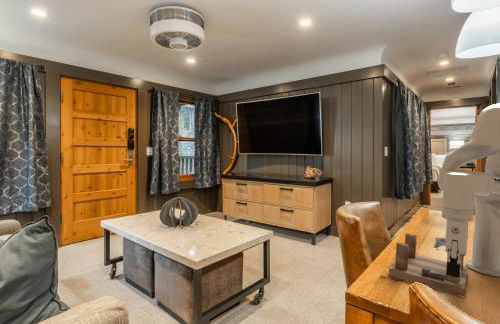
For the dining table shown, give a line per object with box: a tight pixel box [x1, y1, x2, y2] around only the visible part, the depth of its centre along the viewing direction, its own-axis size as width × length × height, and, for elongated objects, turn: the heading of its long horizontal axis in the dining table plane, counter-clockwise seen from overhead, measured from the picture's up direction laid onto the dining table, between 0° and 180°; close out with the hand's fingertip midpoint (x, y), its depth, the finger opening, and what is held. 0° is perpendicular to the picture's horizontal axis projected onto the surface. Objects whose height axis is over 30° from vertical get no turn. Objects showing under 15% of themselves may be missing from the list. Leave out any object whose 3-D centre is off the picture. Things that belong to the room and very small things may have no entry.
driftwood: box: [433, 236, 447, 253], centre depth 126 cm, size 21×7×2 cm, turn 143°
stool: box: [388, 232, 469, 297], centre depth 95 cm, size 20×20×10 cm
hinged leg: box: [422, 251, 462, 282], centre depth 87 cm, size 10×4×8 cm, turn 55°
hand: (453, 273), depth 86 cm, fingers closed on hinged leg, 3 cm apart
